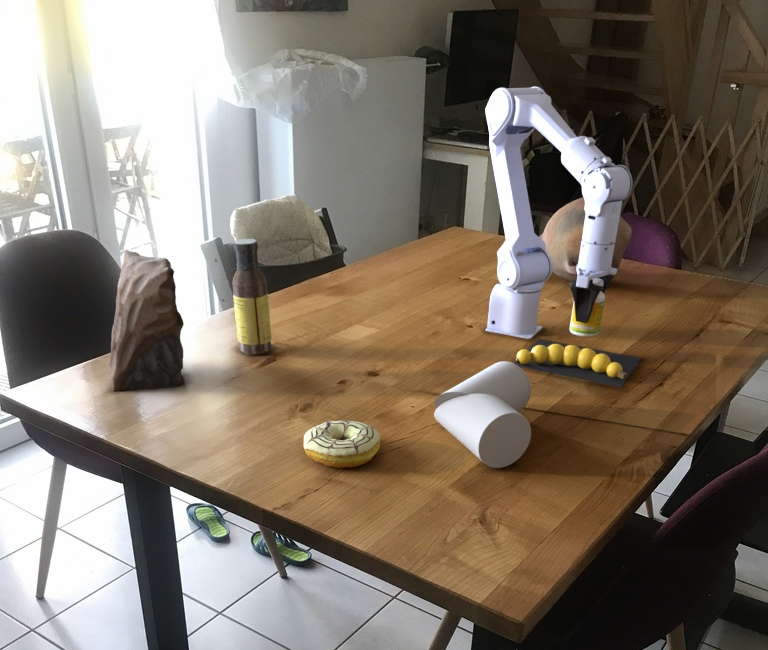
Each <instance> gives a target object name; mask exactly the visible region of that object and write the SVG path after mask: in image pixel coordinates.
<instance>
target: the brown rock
mask: <svg viewBox="0 0 768 650" xmlns="http://www.w3.org/2000/svg"><path fill="white" fill-rule="evenodd" d="M174 275H175V270H174V269H173V268H172V264H171V262H170V261H169V259H168V258H166V257H159V258H157V257H153V256H146V255H145V256H144V255H141V254H140V253H138V252H136V251H131V250H125V252H124V254H123V262H122V264H121V268H120V273H119V279H118V282H117V290H116V291H117V292H116V299H115V313H114V318H113V324H112V328H111V343H110V360H109V368H110V381H111V385H112V391H113V392H117V391H129V390H142V389H149V390H151V389H157V388H158V389H159V388H176V387H178V386H182V385H184V384H185V380H186V379H185V376H184V375H183V374H182V370H183V369H184V347H183V343H182V341H181V333H182V330H183V327H184V324H185V323H184V320H183V317H182V315H181V313H180V312H179V310H178V306H177V296H176V290H177V289H176V288H177V287H176V282H175V278H174Z"/></svg>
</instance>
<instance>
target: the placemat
mask: <svg viewBox="0 0 768 650" xmlns="http://www.w3.org/2000/svg"><path fill="white" fill-rule="evenodd" d="M552 344H559V345H561V346H563V347H564V348H565V347H566V346H568V345H570V343H569V344H568V343H563V342H557V341H552V340H548V339H547V340H546V339H543V338H542V339H541V338H539V339H538V340H536V341H534V343H533V344H532V345H531V346H530V347H529V348H528V349H527V350H528V351H530V353H531V350H532V349H533V348H534V347H535V346H537V345H543V346H545V347H547V348H548V347H549V346H550V345H552ZM576 346H577V347H578V348H579V349H580V350H582V349H585V348H586V347H585V346H579V345H576ZM588 348H589V347H588ZM589 349H592V350H593V351H595V353H596V355H597V354H606V355H607V356H608V357H609V358H610V360H611V363H613V362H617V363H619V364H620V365H621V366H622V372H625V373H627V378H626V379H621V378H619V377H616V378H612V377H610V376H609V375H608V374H607V371H606V372H603V373H598V372H595V371H594V370H593V369H592V368H590V369H582V368H580V367H579V366H578V365H575V366H567V365H565V364H564V363H563V362H561V363H560V364H557V365H553V364H550V363H549V362H548V361H546V362H545V363H542V364H537V363H535V362H533V361H532V359H531V361H530V362H529V363H528V364H520V363H519V364H518V363H516V361H514V362H513V363H514V364H516V365H518V366H519V367H520V368H524V369H529V370H534V371H539V372H543V373H548V374H553V375H558V376H562V377H568V378H572V379H577V380H583V381H588V382H591V383H597V384H602V385H607V386H611V387H616V388H622V387H623V386H624V384H625V383H626V381H627V380H628V379H629V377H630V375H631V374H632V373H633V372H634V370H635V368H636V367H637V366H638V364H639V363H640V361H641V360H642V357H638V356H632V355H628V354H627V355H626V354H621V353H615V352H611V351H605V350H601V349H596V348H595V349H594V348H589Z"/></svg>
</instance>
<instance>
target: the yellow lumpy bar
mask: <svg viewBox="0 0 768 650" xmlns="http://www.w3.org/2000/svg"><path fill="white" fill-rule="evenodd" d="M577 346H578V345H574V344H569V345H568V346H566V347H565V348H564V347H563V346H561V345H559V344H552V345H550V346H549V347H548V348H547V347H545V346H543V345H537V346H535V347H534V348H533V349H532V350H531V353H530V351H528V349H525V348H524V349H521V350H519V351H518V352H517V354H516V358H515V361H516V363H518V364H519V363H520V364H528V363H529V362H530V361H531V359H532V361H533V362H535V363H537V364H542V363H545V362H546V361H548V362H549V363H550V364H553V365H557V364H560V363H561V362H563V363H564V364H565V365H567V366H575V365H578V366H579V367H580V368H582V369H590V368H592V369H593V370H594V371H595V372H598V373H603V372H606V371H607V374H608V375H609V376H610V377H612V378H616V377H619V378H621V379H626V378H627V373H625V372H622V366H621V365H620V364H619V363H617V362H613V363H611V360H610V358H609V357H608V356H607V355H606V354H597V355H596V353H595V351H593V350H592V349H593V348H590V349H589V347H585V349H582V350H580V349H579V348H578V347H577ZM515 361H514V362H515Z"/></svg>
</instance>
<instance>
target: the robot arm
mask: <svg viewBox="0 0 768 650" xmlns="http://www.w3.org/2000/svg"><path fill="white" fill-rule="evenodd" d="M484 111H485V117H486V122H487V123H486V124H487V127H488V133H489V139H488V140H489V141H488V142H489V144H488V145H489V151H490V156H491V157H490V158H491V163H492V169H493V174H494V180H495V185H496V190H497V198H498V203H499V208H500V214H501V219H502V224H503V231H504V236H505V239H506V241H505V240H504V242H503V244H502V245H501V247H500V248H499V249H498V250H497V252H496V255H497V269H496V274H497V279H498V281H499V283H496V284H495V285H494V286H493V288H492V290H491V293H490V298H489V305H488V315H487V325H486V328H485V331H486V332H489V333H495V334H501V335H506V336H510V337H511V336H512V337H515V338H516V337H517V338H521V339H525V340H526V339H527V340H531V339H532V338H534V336H535V335H537V334H538V333H539V332H540V331H541V330H542V329H543V326H542V325H537V324H538V315H539V307H540V301H541V292H542V289H543V288H544V287H545V282H547V281H548V280H549V279H550V278H551V276H552V273H553V272H552V261H551V258H550V256H549V254H548V252H547V250H546V246H545V242H544V241H543V240H542V239H541V238H539V236H538V235H537V234H536V232H535V228H534V224H533V217H532V211H531V204H530V199H529V193H528V188H527V181H526V176H525V170H524V165H523V159H522V152H521V147H522V146H523V143H524V141H525V140H527V139H528V138H529V137H530V136H531V134H532V133H533V132H534V131H535V130H537V132H539V133H540V134H541V135H542V136H543V137H544V138H545V139H546V140H548V142H549V143H550V144H552V145H553V146H554V147H555V148H556V149H557V150H558V151H559V152H560V153H561V155H560V161H561V164H562V165H563V166H564V168H565V169H566V170H567V171H568V172H569V173H570V174H571V175H572V176H573V178H574V179H576V181H577V182H578V183H579V184H580V186H581V194H582V198H583V197H584V200H585V208H584V210H585V213H586V216H585V222H584V229H583V236H582V242H581V249H580V255H579V262H578V264H577V268H576V270H577V274H578V276H577V280H572V281H570V282H569V289H570V292H571V294H572V297H573V304H575V318H576V321H577V322H583V323H587V322H588V321H589V318H590V316H591V313H592V309H593V306H594V303H595V301H596V298H597V296H598V295H599V293H600V291H601V292H603V293H604V294H605V293H606V291H607V289H608V287H609V285H610V284H611V282H612V280H613V279H614V278H615V275H616V274H617V273H618V271H619V269H616V268H612V267H611V264H612V258H613V252H614V247H615V241H616V235H617V229H618V223H619V218H620V216H621V211H622V206H623V201H625V200H626V199H627V198H628V197H629V196H630V194H631V192H632V189H633V177H632V174H631V172H630V171H629V169H628V167H627V166H626V165H624V164H617V165H616V164H615V163H614V162H612V161H613V160H612V158H611V157H609V156H606V154H604V153H603V152H602V151H601V150H600V149H599V147H597V146H596V145H595V144H596V140H595V139H594V138H593V137H592V136H589V137H588V136H586V135H580V136H577V135H576V134H575V132H574V131H573V130H572V128H571V127H570V126H569V125H568V124H567V122H566V121H565V120H564V119H563V117H561V115H560V114H559V112H558V111H557V109H556V108H555V107H554V106H553V105H552V98H551V96H550V95H548V94H547V93H546V92H545V90H544V89H543V88H542V87H539V86H530V87H511V88H507V87H498V88H496V89H495V90H494V91H492V93H491V96H490V97H489V100H488V101H487V105H486V107H485V110H484ZM518 252H525V253H522V254H517V253H518ZM617 270H618V271H617ZM595 278H599V279H602V280H603V281H604V282H603V286H597V285H594V283H593V280H592V279H595ZM602 288H603V289H602Z"/></svg>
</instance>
